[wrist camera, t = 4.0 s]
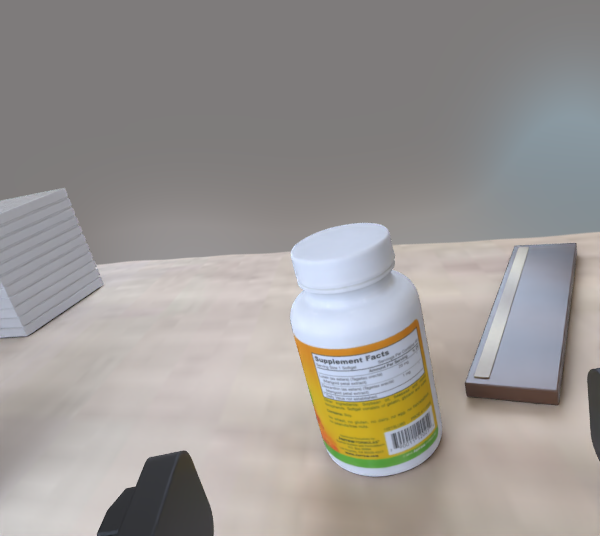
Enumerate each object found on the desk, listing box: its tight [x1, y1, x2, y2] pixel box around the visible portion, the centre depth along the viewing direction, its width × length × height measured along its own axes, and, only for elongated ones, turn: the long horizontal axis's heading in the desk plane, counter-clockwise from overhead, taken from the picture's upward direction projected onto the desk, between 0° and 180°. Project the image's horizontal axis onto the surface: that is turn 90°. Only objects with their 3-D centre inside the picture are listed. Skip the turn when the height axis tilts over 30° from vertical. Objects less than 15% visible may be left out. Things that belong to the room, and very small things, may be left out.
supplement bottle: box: [290, 223, 442, 477], centre depth 22 cm, size 5×5×10 cm
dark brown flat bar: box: [465, 243, 577, 405], centre depth 31 cm, size 17×4×1 cm, turn 152°
